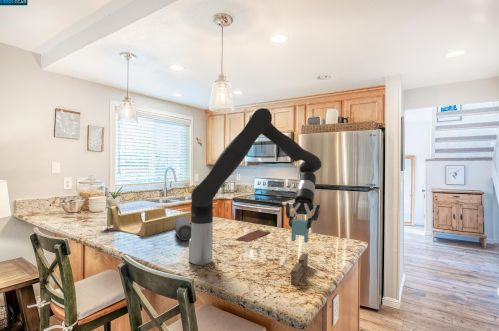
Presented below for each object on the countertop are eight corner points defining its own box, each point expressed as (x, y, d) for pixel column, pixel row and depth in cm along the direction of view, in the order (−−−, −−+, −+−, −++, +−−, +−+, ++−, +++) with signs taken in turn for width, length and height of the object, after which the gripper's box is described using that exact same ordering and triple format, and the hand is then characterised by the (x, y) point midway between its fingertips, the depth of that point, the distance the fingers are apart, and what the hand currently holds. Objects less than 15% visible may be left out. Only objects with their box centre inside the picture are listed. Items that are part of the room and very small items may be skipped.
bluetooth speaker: (194, 241, 144) (194, 223, 144) (176, 243, 141) (176, 224, 141) (189, 231, 166) (189, 215, 166) (173, 232, 163) (174, 216, 163)
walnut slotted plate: (291, 284, 94) (291, 270, 94) (302, 265, 112) (302, 253, 112) (297, 285, 93) (297, 271, 93) (307, 265, 111) (307, 253, 111)
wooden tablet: (257, 231, 171) (257, 228, 171) (271, 233, 166) (271, 230, 166) (233, 240, 149) (233, 237, 149) (247, 243, 144) (247, 240, 144)
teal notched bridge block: (291, 240, 103) (291, 220, 103) (292, 239, 105) (293, 219, 105) (307, 242, 100) (307, 221, 100) (308, 241, 103) (308, 220, 103)
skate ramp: (144, 238, 153) (145, 211, 153) (106, 229, 170) (107, 204, 170) (191, 225, 188) (191, 202, 188) (156, 218, 205) (156, 197, 205)
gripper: (287, 186, 113) (279, 220, 102) (321, 188, 107) (317, 223, 96) (290, 197, 118) (282, 230, 107) (323, 199, 112) (319, 234, 101)
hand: (299, 227), depth 101 cm, fingers closed on teal notched bridge block, 6 cm apart
